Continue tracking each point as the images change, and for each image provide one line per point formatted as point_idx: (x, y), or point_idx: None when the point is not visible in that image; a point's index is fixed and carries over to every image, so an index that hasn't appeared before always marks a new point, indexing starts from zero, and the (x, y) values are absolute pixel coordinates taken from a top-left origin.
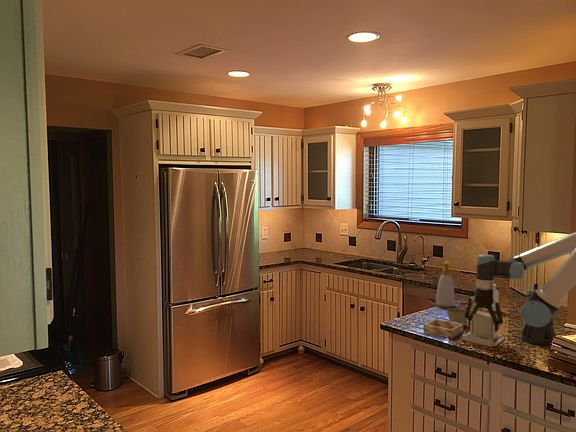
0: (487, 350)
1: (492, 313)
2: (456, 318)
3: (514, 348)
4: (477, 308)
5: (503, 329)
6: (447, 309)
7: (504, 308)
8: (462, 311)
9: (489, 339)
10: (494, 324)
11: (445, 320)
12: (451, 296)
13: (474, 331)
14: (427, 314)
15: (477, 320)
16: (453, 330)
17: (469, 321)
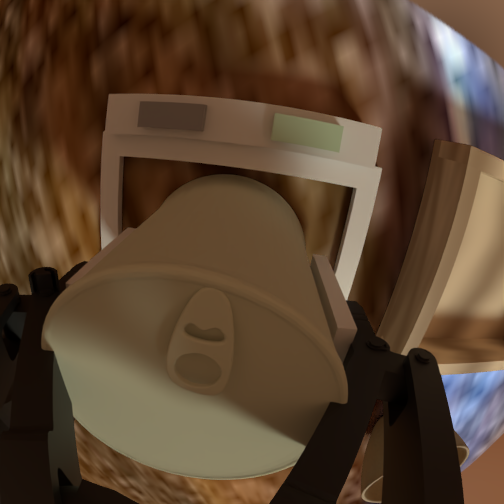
0: (141, 3)
1: (14, 384)
2: None
3: (22, 172)
4: (278, 490)
5: None
6: (460, 465)
7: None
8: (381, 492)
9: (129, 125)
10: (55, 271)
11: (484, 370)
12: None
13: (286, 222)
14: (482, 440)
15: (250, 250)
16: (460, 174)
17: (362, 330)
